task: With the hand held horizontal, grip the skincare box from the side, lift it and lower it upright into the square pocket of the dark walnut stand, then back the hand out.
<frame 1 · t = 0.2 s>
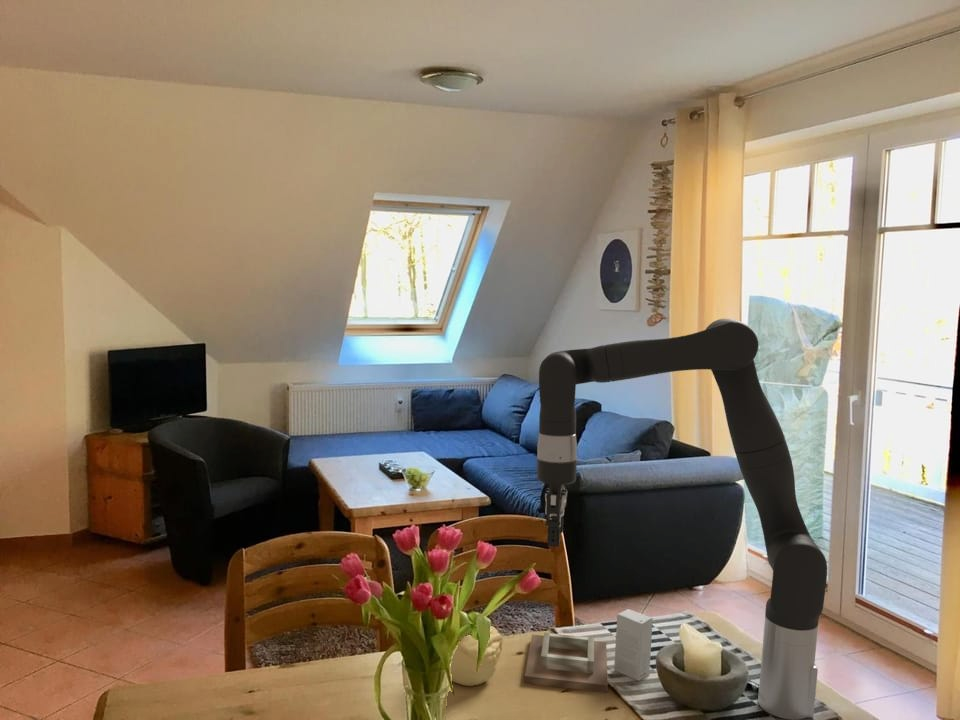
hand: (555, 539, 151), 29 cm above the table, tool pointing down, fingers open, 8 cm apart
skincare box: (631, 673, 158), on the table
sculpture: (468, 678, 154), on the table
walnut stand: (567, 665, 160), on the table
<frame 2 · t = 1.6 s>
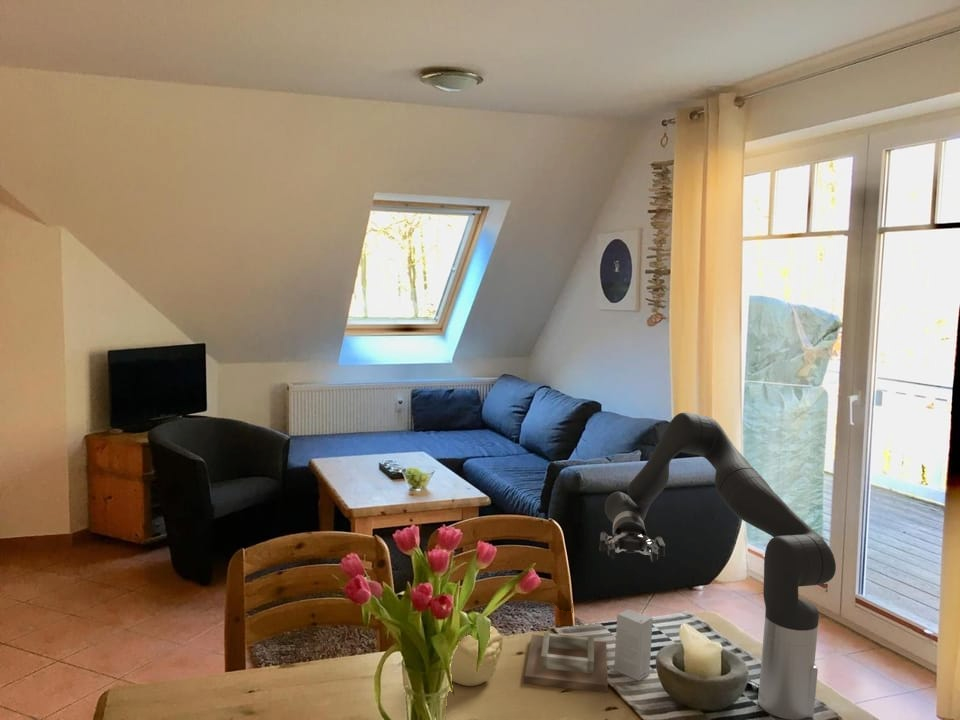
hand: (633, 555, 168), 20 cm above the table, tool horizontal, fingers open, 8 cm apart
nothing on the table moved.
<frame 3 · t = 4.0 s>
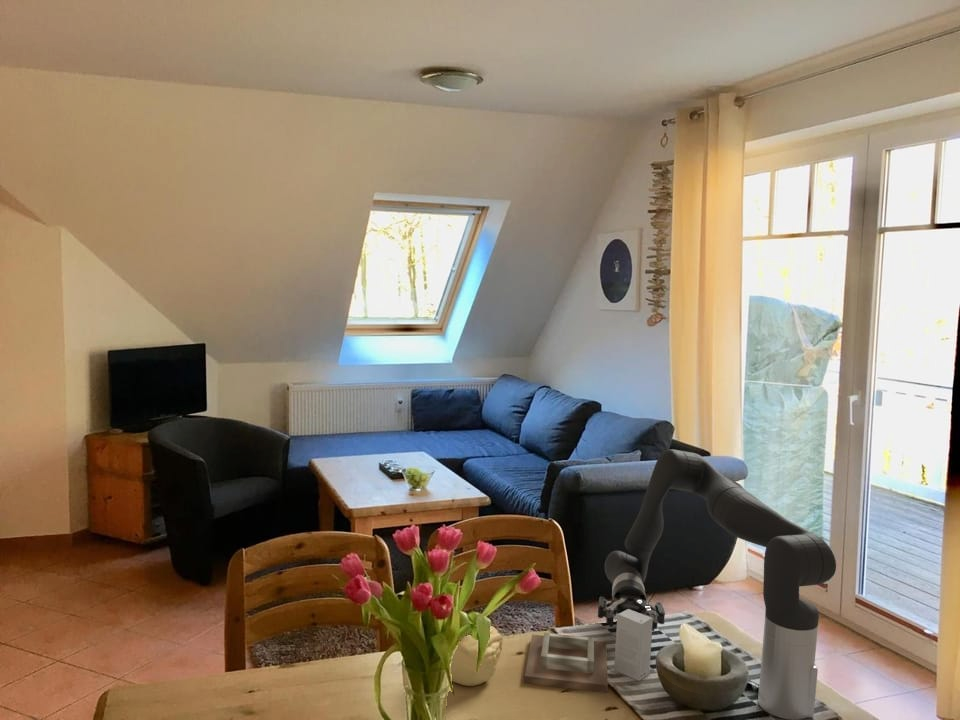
hand: (632, 624, 164), 7 cm above the table, tool horizontal, fingers open, 8 cm apart
nothing on the table moved.
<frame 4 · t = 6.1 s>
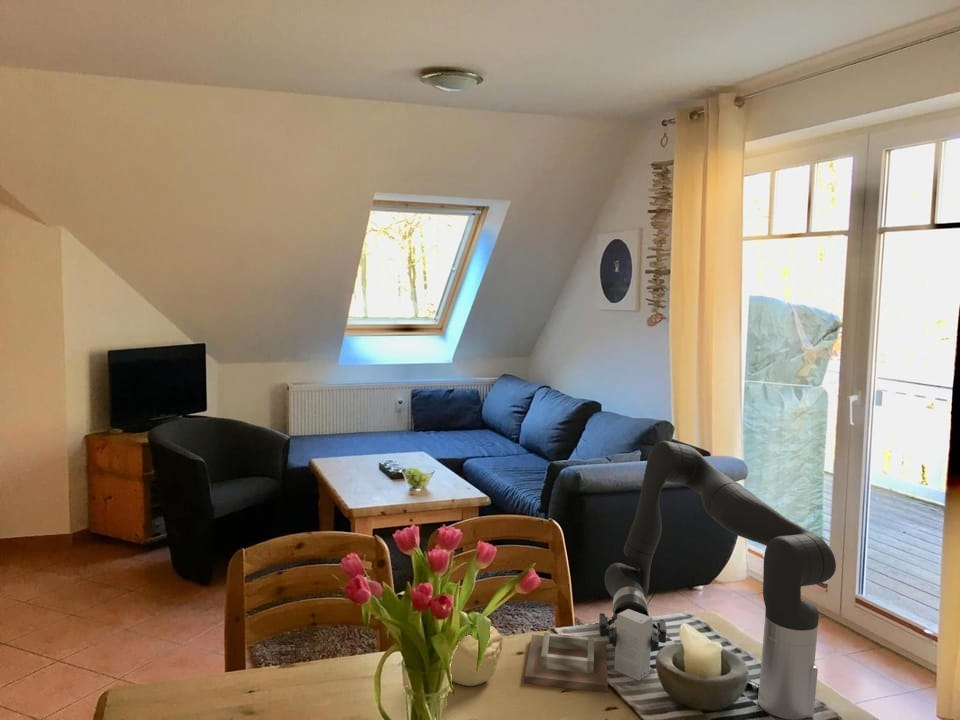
hand: (634, 644, 155), 7 cm above the table, tool horizontal, fingers closed on skincare box, 7 cm apart
skincare box: (631, 673, 158), on the table, touching gripper
everything else where it was.
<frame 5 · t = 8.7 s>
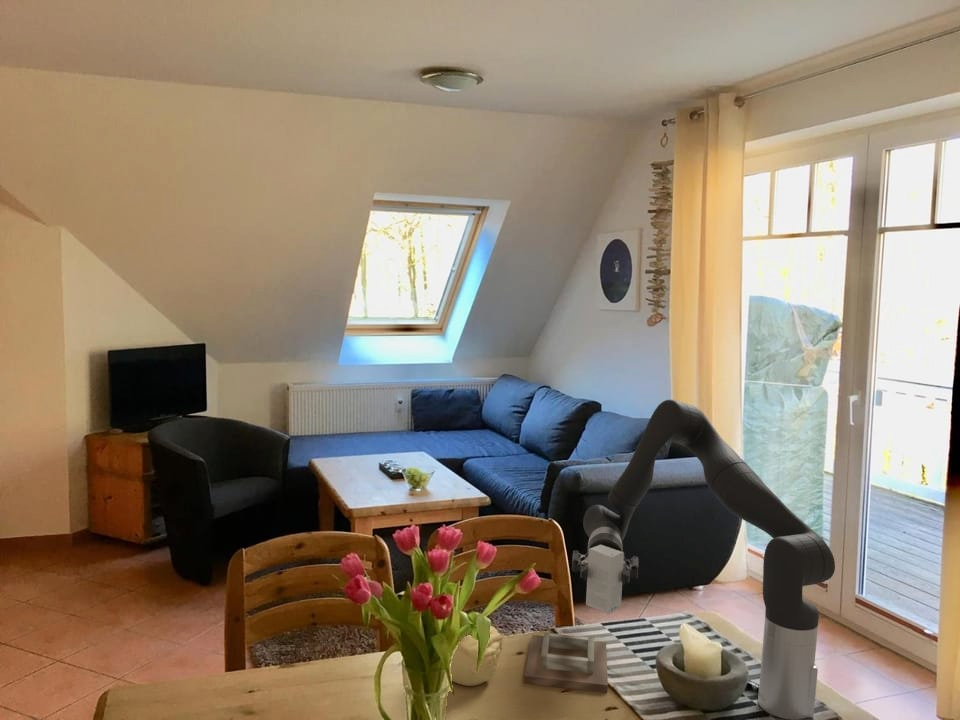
hand: (604, 578, 155), 20 cm above the table, tool horizontal, fingers closed on skincare box, 7 cm apart
skincare box: (602, 607, 158), point 13 cm above the table, touching gripper
everything else where it was.
when the fingers open (9 cm above the table, at t = 11.8 s): skincare box stays where it is, resting on walnut stand.
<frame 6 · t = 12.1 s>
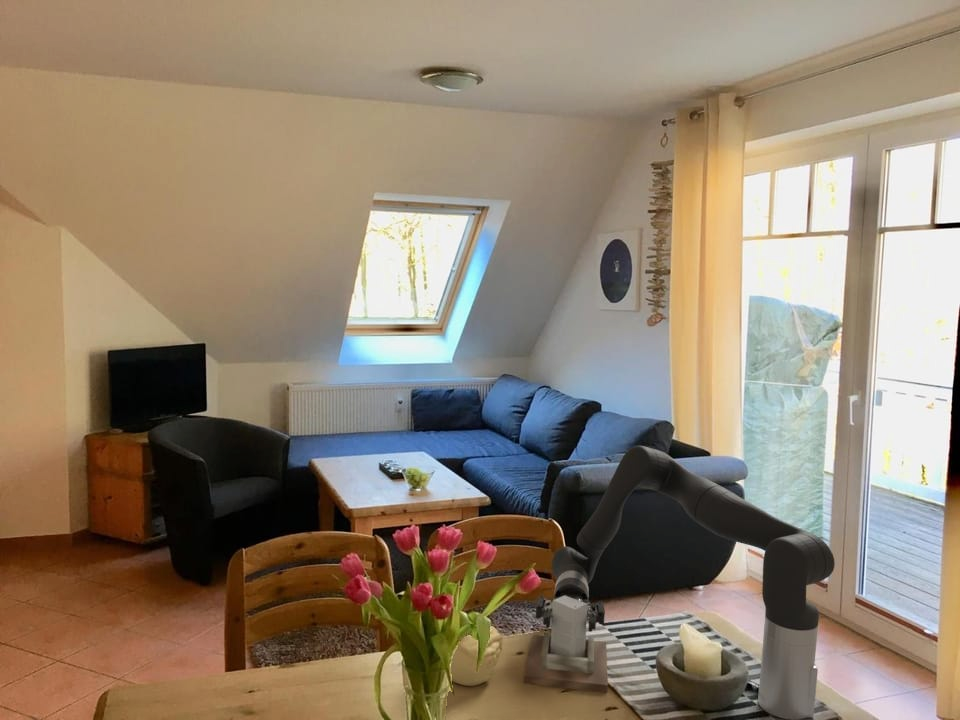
hand: (569, 625, 157), 9 cm above the table, tool horizontal, fingers open, 8 cm apart
skincare box: (567, 658, 160), point 1 cm above the table, touching walnut stand
everything else where it was.
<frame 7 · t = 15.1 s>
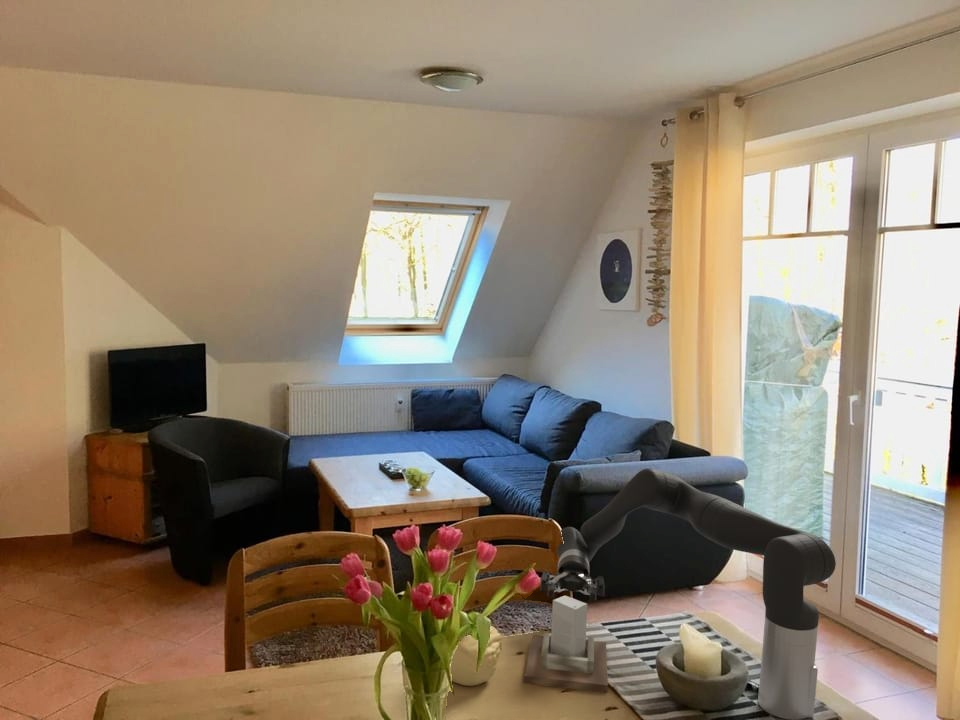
hand: (571, 596, 170), 10 cm above the table, tool horizontal, fingers open, 8 cm apart
nothing on the table moved.
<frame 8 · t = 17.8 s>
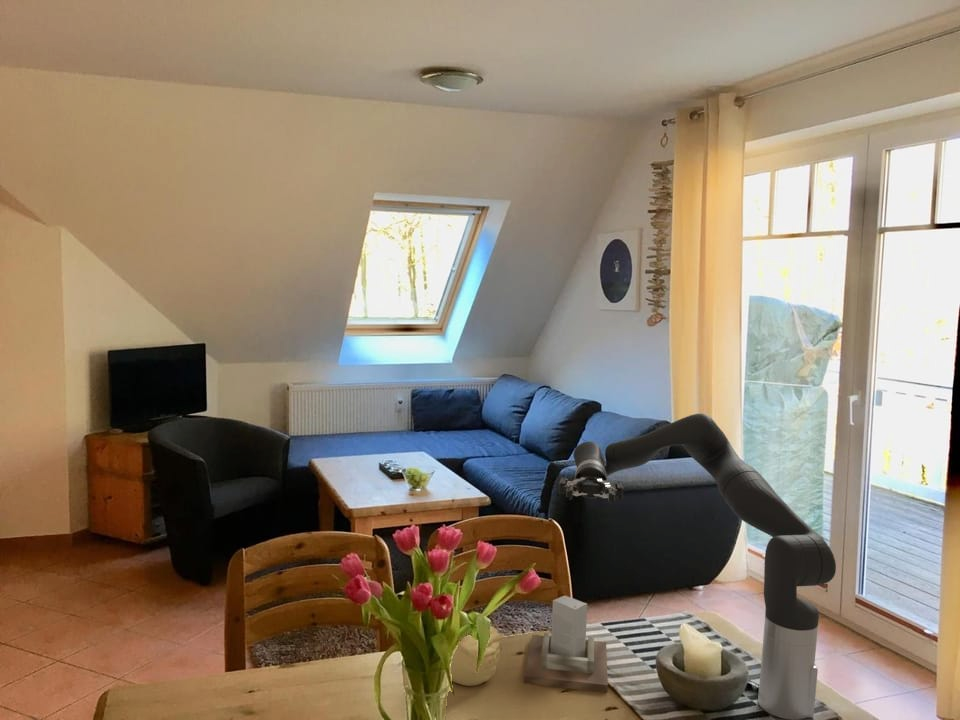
hand: (590, 496, 169), 32 cm above the table, tool horizontal, fingers open, 8 cm apart
nothing on the table moved.
at the end: skincare box 0.1 cm off-centre on the walnut stand, point 1.3 cm above the walnut stand's base; skincare box tilted 0°; the gripper is holding nothing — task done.
